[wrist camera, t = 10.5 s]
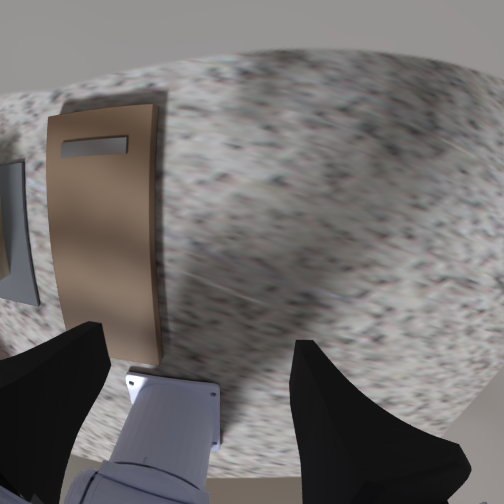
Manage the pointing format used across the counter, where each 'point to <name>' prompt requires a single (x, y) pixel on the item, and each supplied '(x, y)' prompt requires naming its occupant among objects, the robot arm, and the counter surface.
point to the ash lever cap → (3, 252)
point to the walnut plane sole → (106, 225)
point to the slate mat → (16, 237)
